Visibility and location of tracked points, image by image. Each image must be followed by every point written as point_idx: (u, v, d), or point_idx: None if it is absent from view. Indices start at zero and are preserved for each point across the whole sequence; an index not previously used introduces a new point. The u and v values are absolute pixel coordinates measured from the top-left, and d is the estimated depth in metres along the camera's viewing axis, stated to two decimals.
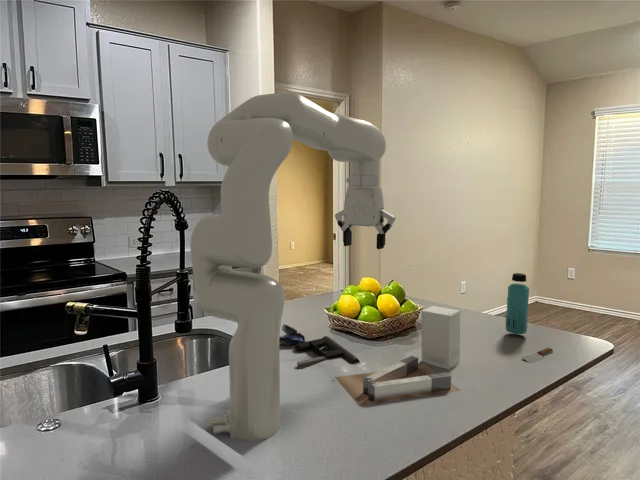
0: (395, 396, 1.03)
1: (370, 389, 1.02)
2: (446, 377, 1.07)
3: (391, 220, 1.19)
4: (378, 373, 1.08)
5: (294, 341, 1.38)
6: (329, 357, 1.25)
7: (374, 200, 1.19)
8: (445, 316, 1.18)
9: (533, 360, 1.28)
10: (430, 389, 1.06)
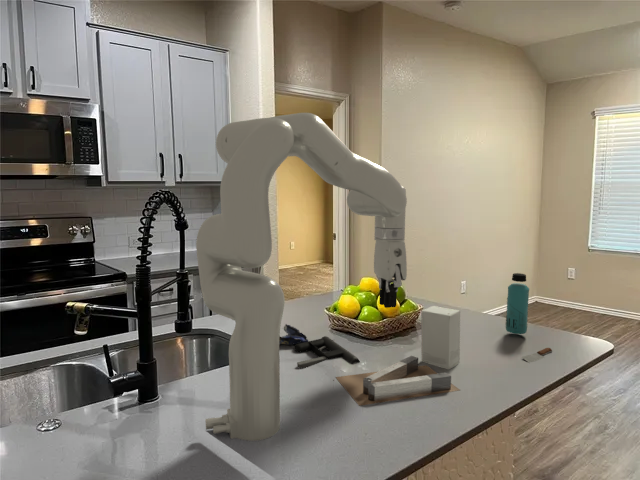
0: (395, 396, 1.03)
1: (370, 389, 1.02)
2: (446, 377, 1.07)
3: None
4: (378, 373, 1.08)
5: (297, 341, 1.38)
6: (329, 357, 1.25)
7: None
8: (445, 316, 1.18)
9: (533, 360, 1.29)
10: (430, 389, 1.06)
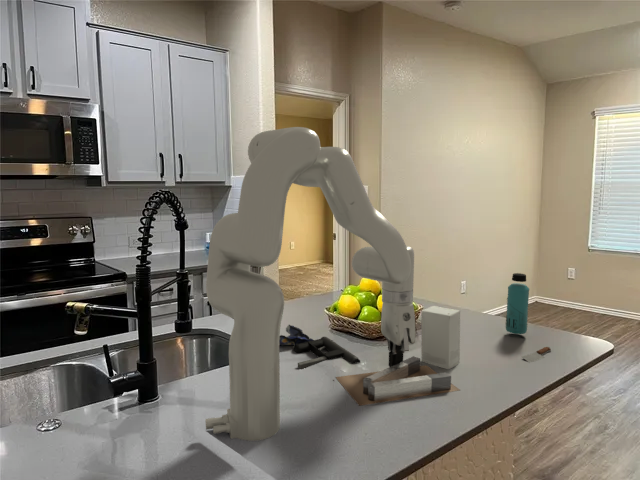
0: (395, 396, 1.03)
1: (370, 389, 1.02)
2: (446, 377, 1.07)
3: None
4: (379, 373, 1.08)
5: (303, 341, 1.38)
6: (329, 357, 1.25)
7: None
8: (445, 316, 1.18)
9: (533, 359, 1.29)
10: (430, 389, 1.06)
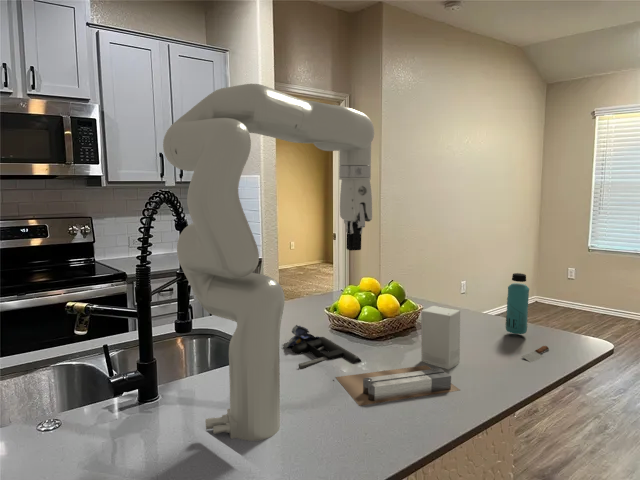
0: (395, 396, 1.03)
1: (370, 389, 1.02)
2: (446, 377, 1.07)
3: None
4: (385, 376, 1.07)
5: (315, 339, 1.40)
6: (330, 358, 1.25)
7: None
8: (445, 316, 1.18)
9: (533, 359, 1.29)
10: (430, 389, 1.06)
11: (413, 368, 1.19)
